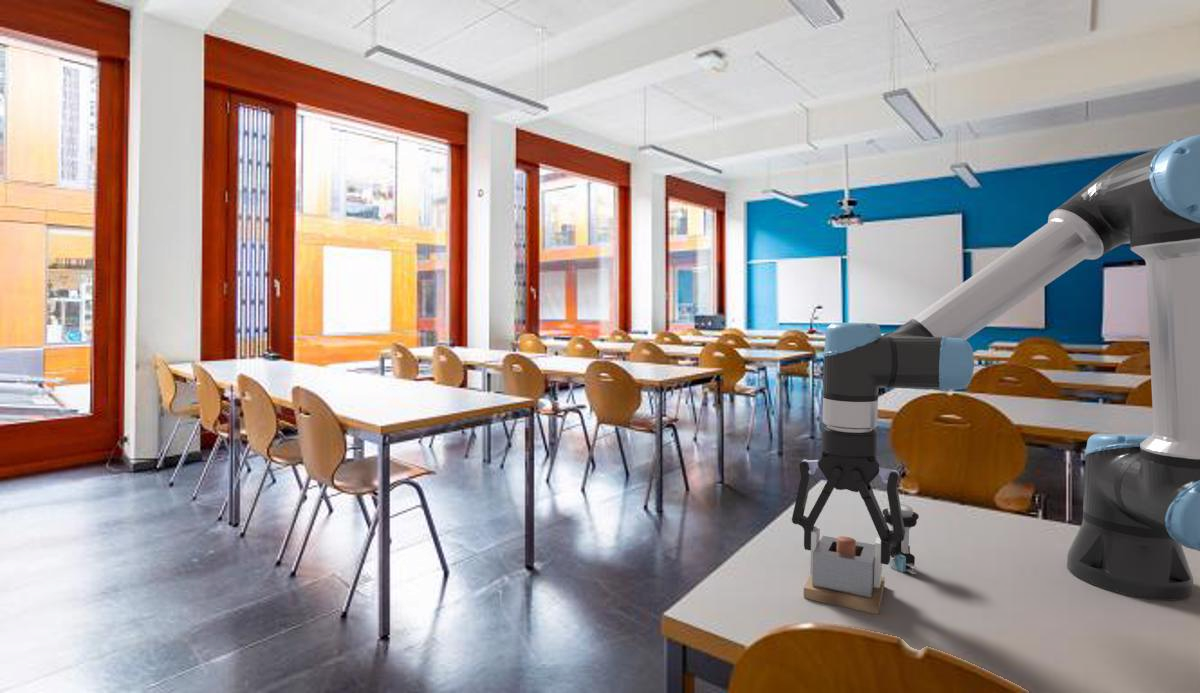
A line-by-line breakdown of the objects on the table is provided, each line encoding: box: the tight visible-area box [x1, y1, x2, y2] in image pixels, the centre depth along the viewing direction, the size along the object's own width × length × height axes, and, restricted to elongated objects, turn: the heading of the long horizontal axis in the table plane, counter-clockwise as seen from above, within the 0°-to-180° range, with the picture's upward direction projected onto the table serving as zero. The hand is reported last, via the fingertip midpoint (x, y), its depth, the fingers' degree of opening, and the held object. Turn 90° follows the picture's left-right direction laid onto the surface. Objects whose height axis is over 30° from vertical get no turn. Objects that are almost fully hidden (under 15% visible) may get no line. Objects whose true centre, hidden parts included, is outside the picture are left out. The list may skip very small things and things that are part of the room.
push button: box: [882, 503, 920, 575], centre depth 102 cm, size 7×5×10 cm
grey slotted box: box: [812, 535, 875, 598], centre depth 93 cm, size 8×8×5 cm
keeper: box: [803, 536, 886, 615], centre depth 93 cm, size 10×10×8 cm
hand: (845, 577), depth 93 cm, fingers open, 8 cm apart
